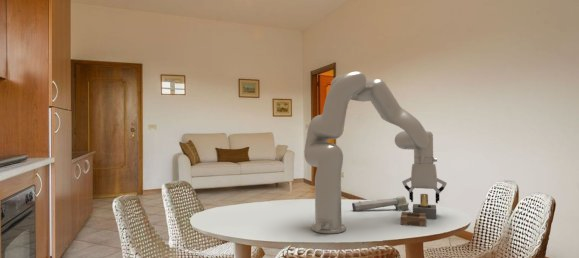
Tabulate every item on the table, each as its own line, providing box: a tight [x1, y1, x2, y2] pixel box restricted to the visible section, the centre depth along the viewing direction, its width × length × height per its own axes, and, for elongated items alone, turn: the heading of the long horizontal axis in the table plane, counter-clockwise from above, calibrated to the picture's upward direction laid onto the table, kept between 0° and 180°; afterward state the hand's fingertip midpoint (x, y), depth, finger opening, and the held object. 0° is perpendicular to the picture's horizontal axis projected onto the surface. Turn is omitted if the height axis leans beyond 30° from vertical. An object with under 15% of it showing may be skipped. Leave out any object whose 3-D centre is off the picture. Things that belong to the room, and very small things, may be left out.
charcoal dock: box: [412, 203, 437, 220], centre depth 153 cm, size 9×9×4 cm
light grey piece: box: [351, 195, 410, 212], centre depth 165 cm, size 5×7×25 cm
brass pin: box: [419, 193, 429, 208], centre depth 153 cm, size 3×3×9 cm
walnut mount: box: [400, 211, 427, 227], centre depth 142 cm, size 9×9×3 cm
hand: (424, 202), depth 153 cm, fingers open, 9 cm apart
